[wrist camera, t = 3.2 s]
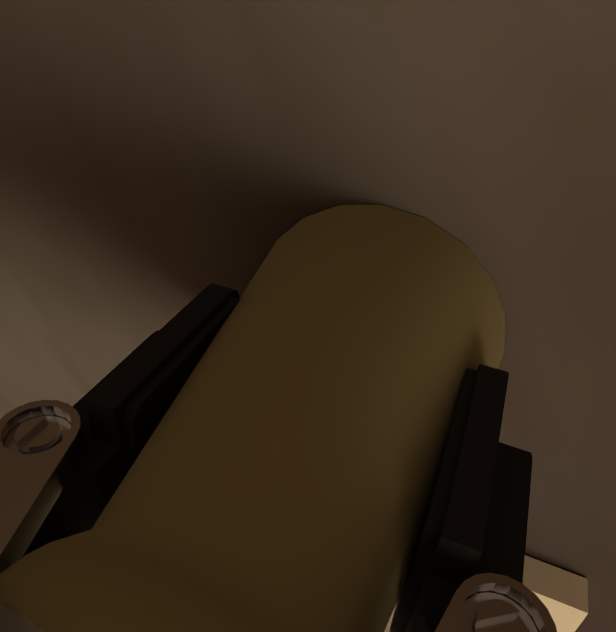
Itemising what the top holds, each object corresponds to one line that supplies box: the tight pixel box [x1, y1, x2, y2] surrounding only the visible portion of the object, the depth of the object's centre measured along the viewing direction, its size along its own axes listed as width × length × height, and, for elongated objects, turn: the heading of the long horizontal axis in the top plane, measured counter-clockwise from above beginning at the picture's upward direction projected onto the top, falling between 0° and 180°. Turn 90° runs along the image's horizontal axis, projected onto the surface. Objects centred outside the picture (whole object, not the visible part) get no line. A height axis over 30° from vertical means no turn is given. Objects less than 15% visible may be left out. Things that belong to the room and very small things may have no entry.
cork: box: [0, 205, 506, 632], centre depth 9 cm, size 6×6×11 cm
